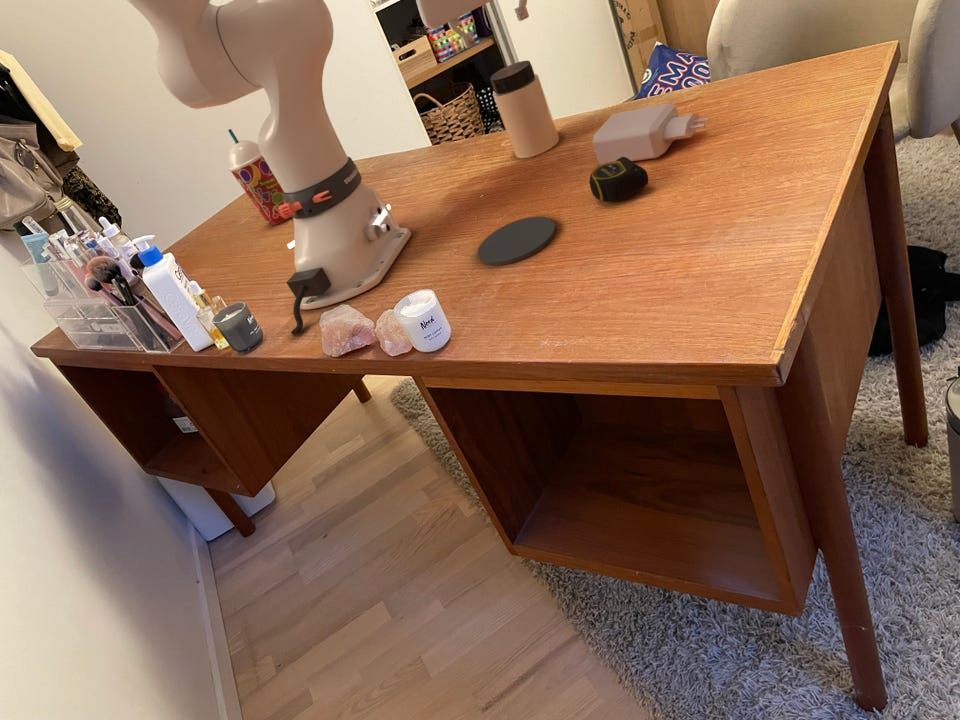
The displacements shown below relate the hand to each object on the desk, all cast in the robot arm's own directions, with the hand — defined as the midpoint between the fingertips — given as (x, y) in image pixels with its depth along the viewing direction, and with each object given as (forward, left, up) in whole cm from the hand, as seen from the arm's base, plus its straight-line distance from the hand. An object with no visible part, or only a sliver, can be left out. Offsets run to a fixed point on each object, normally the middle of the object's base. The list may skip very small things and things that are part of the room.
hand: (497, 32), depth 108 cm
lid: (0, 0, -6) cm, 6 cm away
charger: (-18, -19, -20) cm, 33 cm away
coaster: (-34, +2, -20) cm, 39 cm away
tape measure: (-29, -13, -20) cm, 37 cm away
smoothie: (+12, +57, -20) cm, 62 cm away
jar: (0, 0, -20) cm, 20 cm away
